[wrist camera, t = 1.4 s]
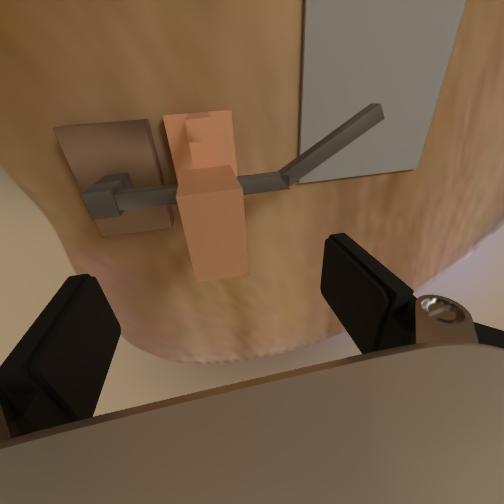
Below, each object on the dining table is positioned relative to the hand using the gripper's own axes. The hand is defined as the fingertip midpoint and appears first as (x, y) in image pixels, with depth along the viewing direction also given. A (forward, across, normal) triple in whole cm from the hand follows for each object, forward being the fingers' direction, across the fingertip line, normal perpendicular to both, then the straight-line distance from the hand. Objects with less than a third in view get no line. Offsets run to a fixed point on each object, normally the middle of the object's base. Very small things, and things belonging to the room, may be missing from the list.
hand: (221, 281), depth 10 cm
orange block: (+18, 0, -1) cm, 18 cm away
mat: (+18, -18, -7) cm, 26 cm away
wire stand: (+18, -1, -1) cm, 18 cm away
